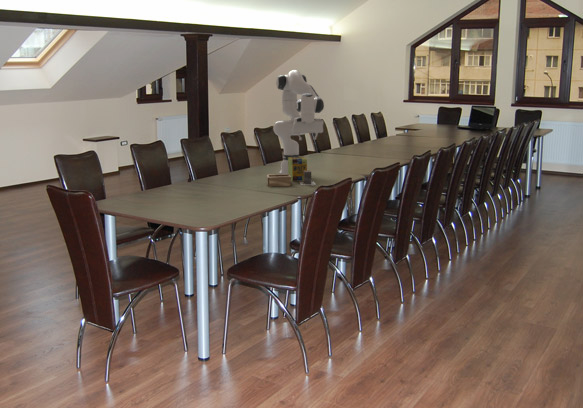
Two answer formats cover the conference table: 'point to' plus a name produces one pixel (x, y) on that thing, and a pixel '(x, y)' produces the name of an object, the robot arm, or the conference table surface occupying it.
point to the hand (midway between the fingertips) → (307, 139)
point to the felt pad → (308, 184)
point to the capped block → (307, 177)
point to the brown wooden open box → (279, 180)
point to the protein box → (297, 168)
